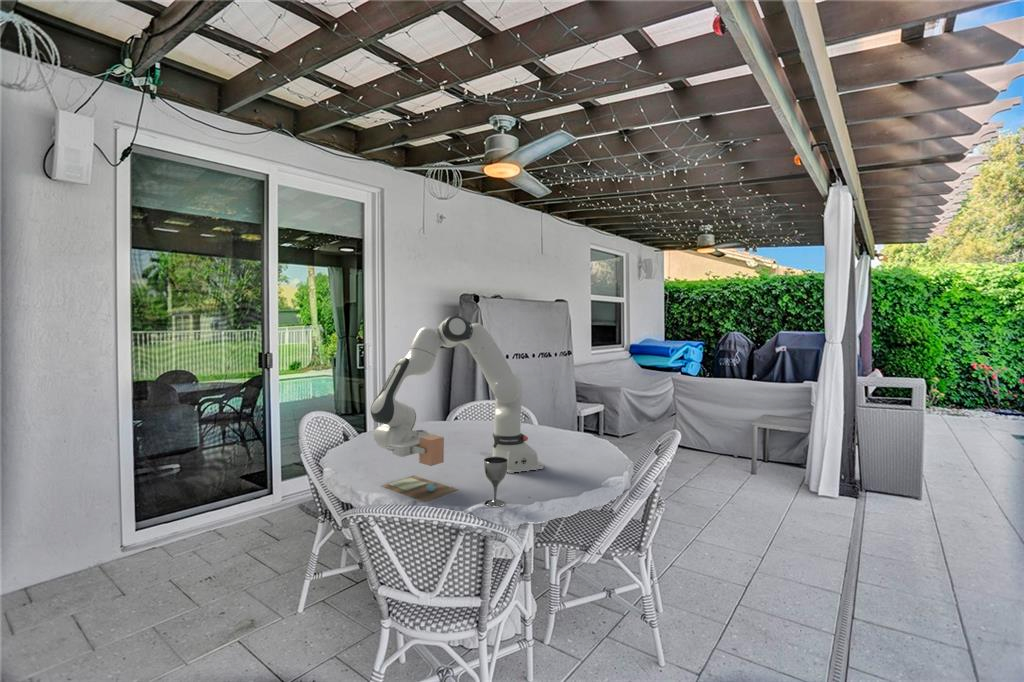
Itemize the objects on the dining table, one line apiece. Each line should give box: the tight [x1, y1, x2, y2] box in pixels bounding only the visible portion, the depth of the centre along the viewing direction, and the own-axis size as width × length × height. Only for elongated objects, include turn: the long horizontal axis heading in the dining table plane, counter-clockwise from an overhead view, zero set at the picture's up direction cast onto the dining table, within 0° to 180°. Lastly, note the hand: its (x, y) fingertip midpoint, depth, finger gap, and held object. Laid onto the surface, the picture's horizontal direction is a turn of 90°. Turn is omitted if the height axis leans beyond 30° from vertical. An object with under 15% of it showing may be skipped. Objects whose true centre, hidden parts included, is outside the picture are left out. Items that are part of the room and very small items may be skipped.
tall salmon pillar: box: [418, 434, 445, 467], centre depth 181 cm, size 6×6×9 cm
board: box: [380, 475, 459, 503], centre depth 186 cm, size 24×16×1 cm, turn 52°
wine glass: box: [483, 456, 508, 506], centre depth 174 cm, size 8×8×15 cm
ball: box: [426, 483, 435, 492], centre depth 182 cm, size 3×3×3 cm
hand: (433, 448), depth 181 cm, fingers closed on tall salmon pillar, 6 cm apart
